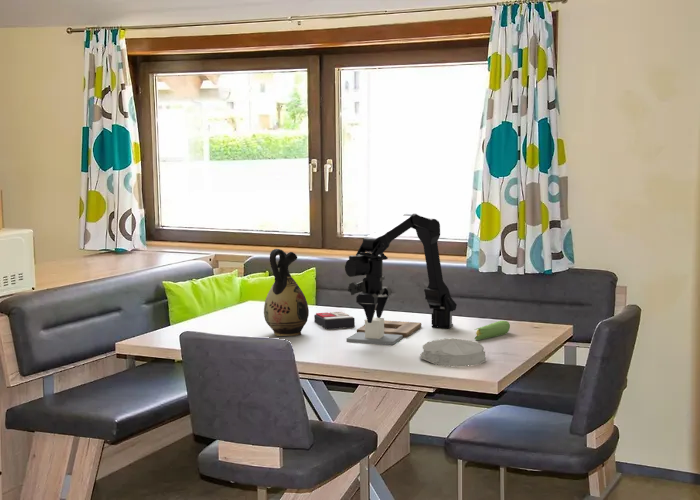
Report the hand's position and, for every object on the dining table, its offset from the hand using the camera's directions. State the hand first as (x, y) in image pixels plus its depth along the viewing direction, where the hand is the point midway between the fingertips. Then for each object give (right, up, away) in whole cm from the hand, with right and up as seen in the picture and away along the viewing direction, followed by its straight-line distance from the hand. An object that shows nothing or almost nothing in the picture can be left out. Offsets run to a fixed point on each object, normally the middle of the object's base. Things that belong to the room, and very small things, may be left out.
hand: (374, 320), depth 288 cm
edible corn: (+39, -6, +4) cm, 40 cm away
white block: (0, -6, +1) cm, 6 cm away
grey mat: (0, -7, +1) cm, 7 cm away
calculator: (-14, -4, +27) cm, 31 cm away
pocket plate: (+6, -5, +16) cm, 17 cm away
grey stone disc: (+23, -10, -26) cm, 36 cm away
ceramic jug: (-31, -6, +10) cm, 33 cm away
